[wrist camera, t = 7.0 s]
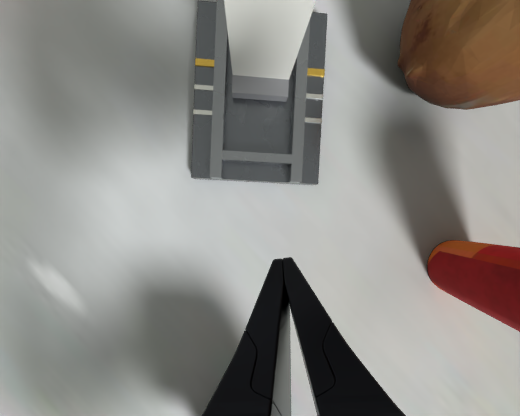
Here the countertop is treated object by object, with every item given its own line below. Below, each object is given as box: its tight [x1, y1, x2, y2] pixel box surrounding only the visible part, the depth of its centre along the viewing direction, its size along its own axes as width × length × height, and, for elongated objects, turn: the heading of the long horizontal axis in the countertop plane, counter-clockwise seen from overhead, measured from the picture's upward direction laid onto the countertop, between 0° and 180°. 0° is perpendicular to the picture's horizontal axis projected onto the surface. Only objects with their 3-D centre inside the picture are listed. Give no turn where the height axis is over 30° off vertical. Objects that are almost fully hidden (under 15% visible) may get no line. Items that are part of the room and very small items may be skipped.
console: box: [191, 0, 327, 185], centre depth 20 cm, size 16×12×2 cm
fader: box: [224, 0, 316, 102], centre depth 14 cm, size 6×5×12 cm
